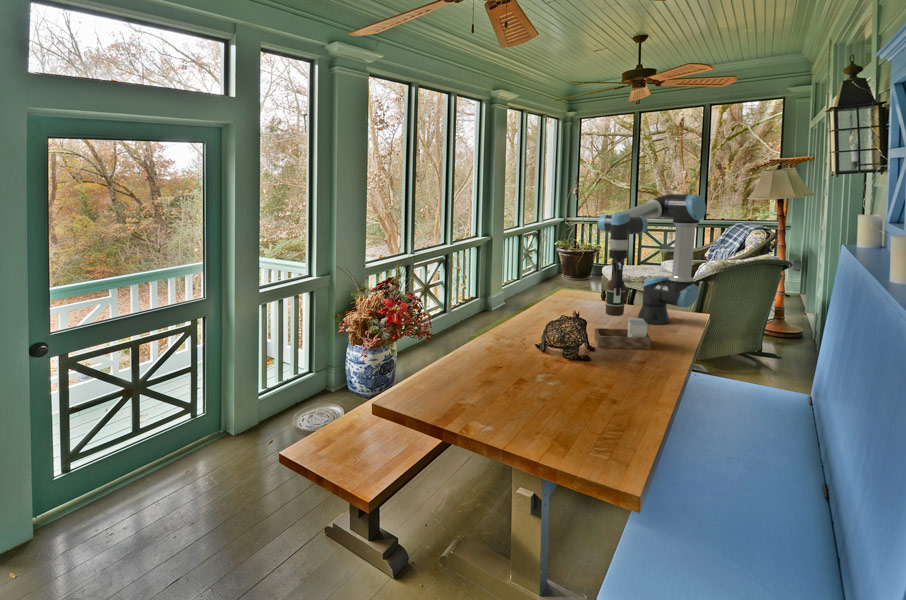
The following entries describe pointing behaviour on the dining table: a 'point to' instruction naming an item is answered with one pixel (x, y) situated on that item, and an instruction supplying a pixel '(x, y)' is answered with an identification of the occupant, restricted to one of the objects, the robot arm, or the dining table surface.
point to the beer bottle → (612, 307)
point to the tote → (619, 339)
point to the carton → (637, 327)
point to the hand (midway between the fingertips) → (615, 300)
